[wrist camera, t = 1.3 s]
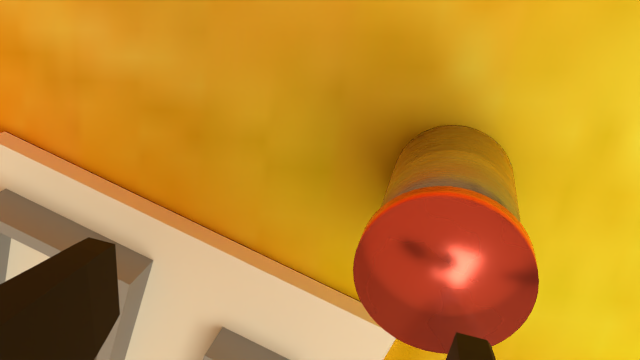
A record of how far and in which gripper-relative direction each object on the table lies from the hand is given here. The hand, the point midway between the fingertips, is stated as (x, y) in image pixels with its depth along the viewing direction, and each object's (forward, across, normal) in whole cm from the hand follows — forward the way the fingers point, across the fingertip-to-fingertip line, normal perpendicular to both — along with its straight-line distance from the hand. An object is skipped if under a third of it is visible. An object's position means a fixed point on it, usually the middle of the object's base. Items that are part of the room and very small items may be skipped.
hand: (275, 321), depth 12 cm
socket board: (+11, +8, +13) cm, 18 cm away
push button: (+11, -4, +2) cm, 12 cm away
